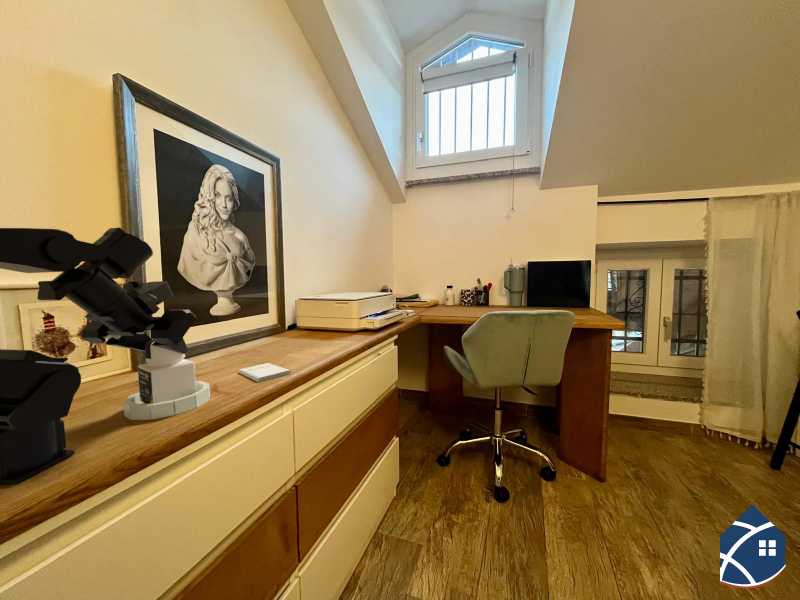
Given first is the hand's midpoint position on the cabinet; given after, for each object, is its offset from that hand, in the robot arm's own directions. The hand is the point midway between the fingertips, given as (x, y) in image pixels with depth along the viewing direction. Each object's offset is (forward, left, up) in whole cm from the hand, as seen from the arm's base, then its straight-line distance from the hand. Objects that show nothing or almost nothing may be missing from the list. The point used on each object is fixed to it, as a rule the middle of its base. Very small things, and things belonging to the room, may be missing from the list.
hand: (172, 351), depth 59 cm
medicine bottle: (-1, 0, -9) cm, 9 cm away
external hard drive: (+18, -9, -11) cm, 23 cm away
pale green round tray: (-1, 0, -10) cm, 10 cm away
